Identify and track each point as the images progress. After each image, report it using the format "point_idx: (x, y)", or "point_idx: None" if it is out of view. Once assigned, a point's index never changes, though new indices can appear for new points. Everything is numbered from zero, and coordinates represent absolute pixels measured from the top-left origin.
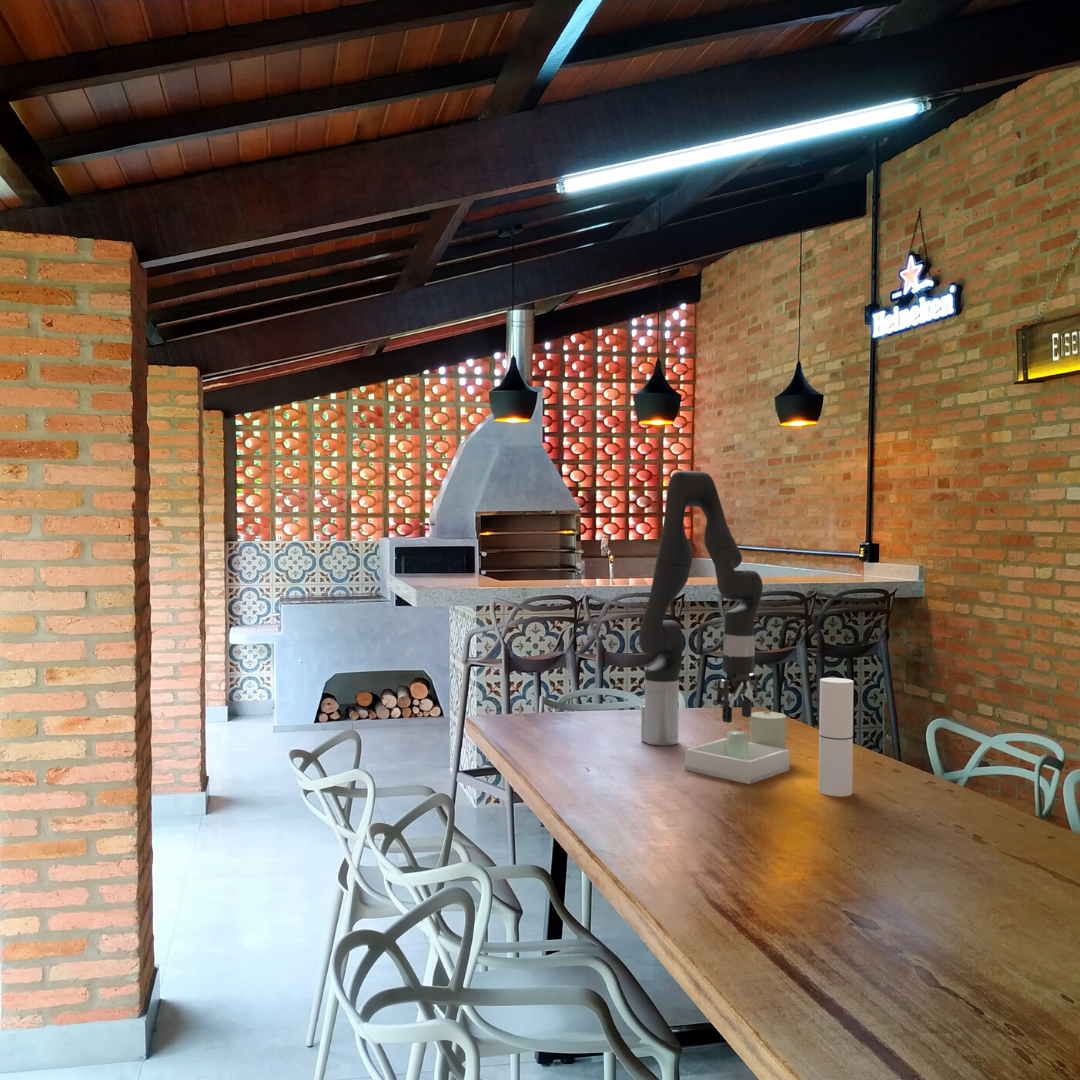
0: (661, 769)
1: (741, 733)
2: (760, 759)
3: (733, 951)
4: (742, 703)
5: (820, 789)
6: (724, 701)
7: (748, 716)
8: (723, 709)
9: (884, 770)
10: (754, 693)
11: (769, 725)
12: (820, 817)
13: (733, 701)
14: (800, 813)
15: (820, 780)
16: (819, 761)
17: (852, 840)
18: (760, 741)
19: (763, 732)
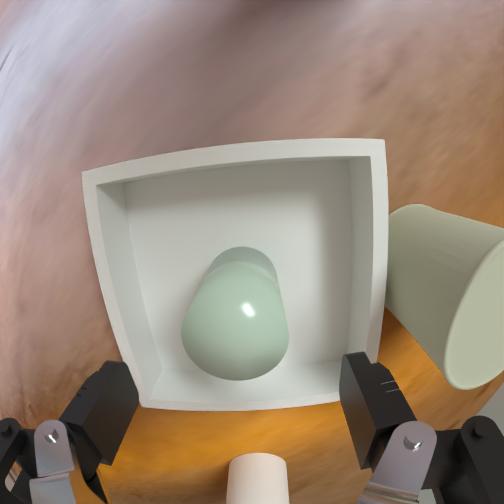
0: (78, 129)
1: (243, 356)
2: (196, 409)
3: None
4: (370, 416)
5: (231, 464)
6: (25, 471)
7: (339, 392)
8: (65, 418)
9: (445, 423)
10: (436, 499)
11: (433, 360)
12: (134, 477)
13: (107, 499)
14: (122, 462)
15: (230, 476)
16: (233, 501)
17: (115, 494)
18: (397, 299)
19: (414, 326)
